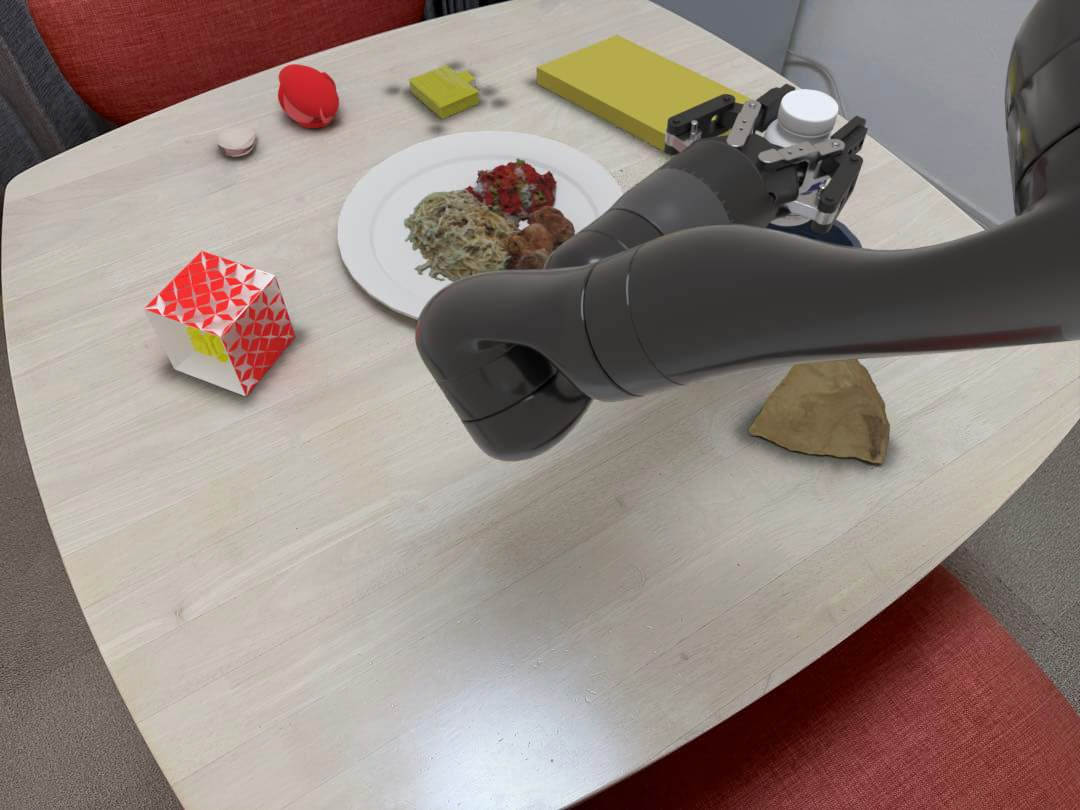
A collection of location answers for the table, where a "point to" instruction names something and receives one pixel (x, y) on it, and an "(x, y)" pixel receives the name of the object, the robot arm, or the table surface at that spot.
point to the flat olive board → (630, 86)
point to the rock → (826, 412)
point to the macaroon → (236, 140)
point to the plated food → (466, 212)
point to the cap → (307, 95)
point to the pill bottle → (802, 130)
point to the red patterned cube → (222, 322)
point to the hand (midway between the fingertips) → (822, 112)
